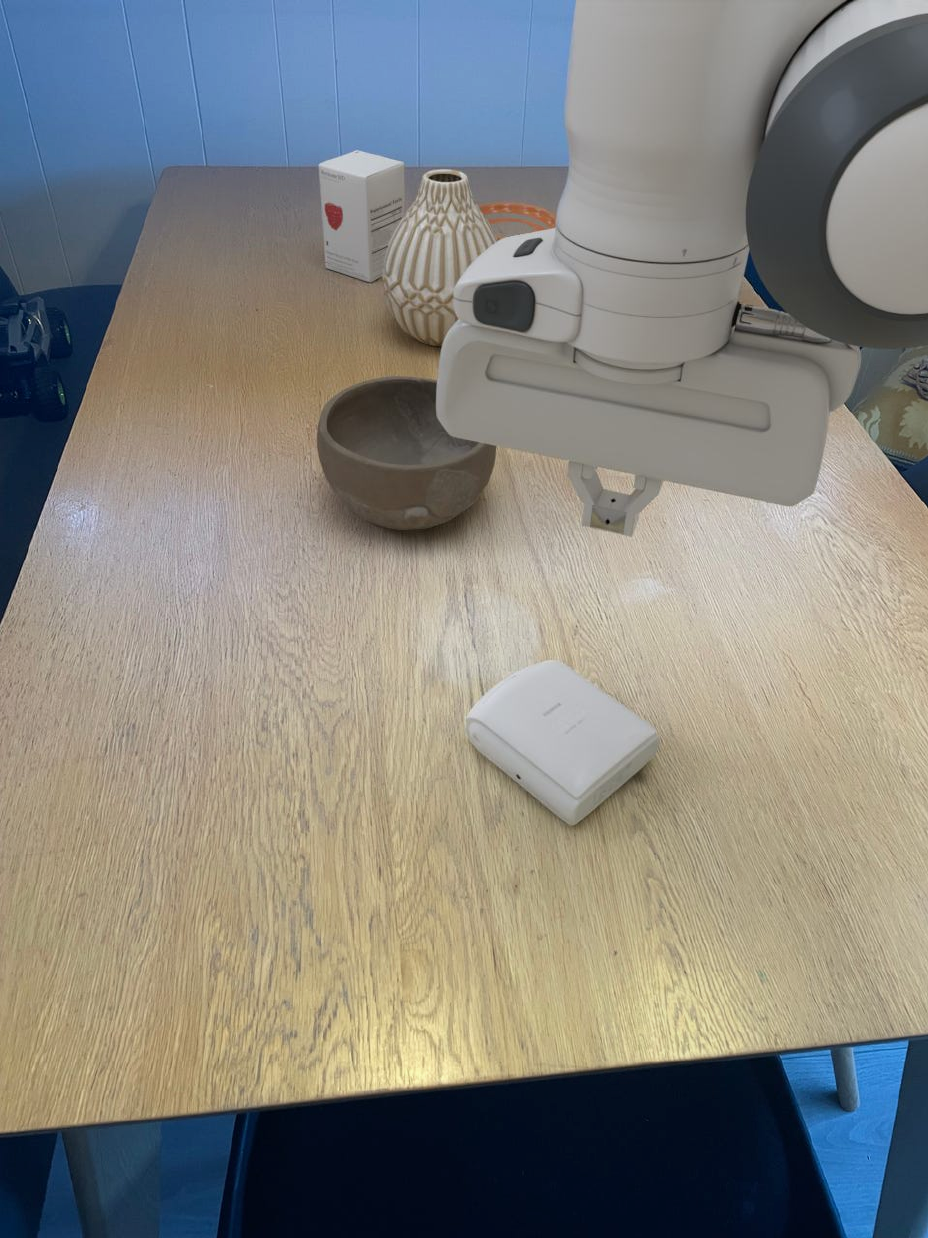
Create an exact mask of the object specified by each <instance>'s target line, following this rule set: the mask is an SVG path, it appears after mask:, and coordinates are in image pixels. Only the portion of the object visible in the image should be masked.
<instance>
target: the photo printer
mask: <svg viewBox="0 0 928 1238" xmlns="http://www.w3.org/2000/svg"><path fill="white" fill-rule="evenodd" d="M464 721H465V725H464V732H465V734H466V737H467V738H468V739H469V742H470V743H471V744H472V745H473V746H474V748H475V749H476V750H477V751H478V752H479V753H480V754H482V755H483V756H484V758H487V759H488V760H489V761H490V762H491V763H493V764H494V765H495V766H496V767H497V768H498V769H500V770H501V771H502V772H503V773H505V774H506V775H507V776H509V777H510V778H511V779H512V780H513V781H514V782H515V783H517V784H518V785H519V786H520V787H522V788H523V789H524V790H525V791H526V792H528V793H529V794H530V795H531V796H532V797H534V798H535V799H536V800H537V801H539V802H540V803H541V804H542V805H543V806H545V807H546V808H547V809H548V810H549V811H551V812H552V813H553V814H554V815H556V817H558V818H559V819H560V820H562V822H564V823H565V824H567V825H568V826H576V825H577V824H578V823H580V822H581V821H582V820H584V819H585V818H586V817H587V816H589V814H591V813H592V812H593V811H595V810H596V809H597V807H599V806H600V805H601V804H602V803H603V802H605V801H606V800H607V799H608V798H609V797H610V796H612V795H613V794H614V793H615V792H616V791H617V790H619V789H620V788H621V787H622V786H623V785H625V783H627V782H628V781H629V780H630V779H632V777H633V776H635V775H636V774H637V773H638V772H639V771H640V770H642V768H644V767H645V766H646V765H647V764H648V763H650V762H651V761H652V759H654V757H655V756H656V754H657V751H658V749H659V746H660V742H661V737H660V735H659V734H658V733H657V729H656V728H655V727H654V726H652V724H651V723H649V722H648V721H647V720H645V719H644V718H642V717H641V716H640V715H638V714H637V713H636V712H635V711H633V710H631V709H630V708H628V707H627V706H625V705H624V704H622V702H620V701H618V700H617V699H616V698H614V697H613V696H611V695H610V694H609V693H607V691H604V690H603V689H601V688H600V687H599V686H598V685H596V684H594V683H593V682H592V681H590V680H589V679H587V678H586V677H584V676H583V675H581V674H580V673H579V672H577V671H576V670H574V669H573V668H571V667H570V666H568V665H567V664H566V663H564V662H562V661H560V660H556V659H548V660H543V661H539V662H536V663H533V664H531V665H528V666H526V667H524V668H521V669H519V670H517V671H515V672H514V673H512V674H510V675H508V676H506V677H505V678H504V679H502V680H501V681H498V682H497V684H495V685H494V686H492V687H491V688H490V689H489V690H488V691H486V693H484V694H483V695H482V696H481V697H480V699H479V700H477V701H476V703H475V704H473V706H472V707H471V709H470V710H469V712H468V713H467V715H466V717H465V719H464Z"/></svg>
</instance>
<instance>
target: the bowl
mask: <svg viewBox="0 0 928 1238" xmlns="http://www.w3.org/2000/svg"><path fill="white" fill-rule="evenodd" d="M436 388H437V379H433V378H427V377H426V378H425V377H416V376H407V375H404V376H403V375H395V376H392V375H391V376H384V377H383V376H382V377H379V378H377V377H376V378H372V379H368V380H365V381H361V382H358V383H355V384H353V385H351V386H349V387H346V388H344V389H342V390H341V391H339V392H338V393H336V394H335V395H334V396H333V397H332V398H330V399H329V400H328V401H327V402H326V404H324V406H323V407H322V410H321V412H320V415H319V419H318V423H317V433H316V448H317V456H318V459H319V463H320V467H321V469H322V472H323V475H324V477H325V479H326V481H327V483H328V484H329V486H330V488H331V490H332V491H333V492H334V493H335V495H336V496H337V497H338V498H339V499H340V501H341V502H342V503H343V504H344V505H345V506H346V507H347V508H348V509H349V510H350V511H351V512H352V513H354V514H355V515H356V516H357V517H359V518H361V519H363V520H365V521H367V522H369V523H371V524H373V525H375V526H379V527H382V528H386V529H394V530H399V531H411V530H426V529H429V528H433V527H436V526H439V525H441V524H444V523H447V522H450V521H452V520H453V519H454V518H456V517H457V516H459V515H460V514H462V513H464V511H466V510H467V509H468V508H469V507H471V506H472V505H473V504H474V503H475V502H476V501H477V500H478V499H479V498H480V496H481V495H482V494H483V493H484V491H485V489H486V487H487V486H488V484H489V482H490V480H491V478H492V474H493V472H494V471H493V470H494V468H495V464H496V458H497V446H495V445H490V444H485V443H480V442H476V441H471V440H466V439H461V438H456V437H452V436H450V435H449V434H448V433H447V431H446V430H445V429H444V427H443V426H442V424H441V423H440V421H439V420H438V418H437V414H436Z"/></svg>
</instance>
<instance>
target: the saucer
mask: <svg viewBox="0 0 928 1238" xmlns="http://www.w3.org/2000/svg"><path fill="white" fill-rule="evenodd" d="M477 206H478V207H479V209H480V210H481V211H482V213H483V214H484V215H487V214H492V213H516V214H522V215H526V216H530V217H532V218H534V219H537V220H538V221H541V222H543V223H545V224H546V225H547V226H548V227H549V229H552V228H555V226H556V214H555V213H554V212H552V211H550V210H549V209H546V208H544V207H542V206H538V205H535V204H530V203H523V202H513V201H511V202H509V201H502V202H489V203H483V204H479V205H477ZM487 221H488V222H489V224H490V225H492V224H495V223H499V222H520V223H524V224H527V225H529V226H531V227H533V229H534V232H536V231H542V230H546V229H545V228H544V227H542V226H541V225H539V224H536V223H534V222H531V221H527V220H522V219H513V218H497V219H490V220H487ZM495 236H496V238H497V240H498V241H499V240H500V239H503V238H505V237H503V236H498V235H495Z"/></svg>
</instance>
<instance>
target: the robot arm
mask: <svg viewBox="0 0 928 1238" xmlns="http://www.w3.org/2000/svg"><path fill="white" fill-rule="evenodd" d="M568 52H569V53H568V61H567V62H568V63H567V73H566V84H565V95H564V106H563V122H564V123H563V124H564V129H565V134H566V135H565V136H566V139H567V147H568V159H569V160H568V171H567V177H566V181H565V185H564V189H563V191H562V194H561V197H560V200H559V202H558V204H557V208H556V214H555V215H556V226H555V228H552V229H547V230H542V231H536V232H531V233H525V234H520V235H514V236H510V237H505V238H503V239H500V240H499V241H497V242H496V243H494V244H493V245H492V246H490V247H489V248H488V249H486V250H485V251H484V252H483V253H482V254H481V255H479V256H478V257H477V258H476V259H475V260H474V261H473V262H472V263H471V264H470V266H469V267H468V268H467V269H466V270H465V272H464V273H463V274H462V276H461V277H460V279H459V280H458V282H457V284H456V285H455V288H454V292H453V305H454V311H455V314H456V316H457V317H458V320H457V321H456V322H455V324H454V325H453V326H452V327H451V328H450V330H449V331H448V332H447V334H446V336H445V338H444V341H443V344H442V346H441V349H440V355H439V361H438V366H437V367H438V369H437V376H436V377H437V378H436V380H437V388H436V414H437V418H438V420H439V421H440V423H441V424H442V426H443V427H444V429H445V430H446V431H447V433H448V434H449V435H450V436H452V437H456V438H461V439H466V440H471V441H476V442H480V443H485V444H490V445H495V446H496V447H500V448H504V449H510V450H515V451H520V452H523V453H524V452H525V453H529V454H533V455H538V456H543V457H544V456H545V457H548V458H553V459H558V460H563V461H568V464H567V465H568V466H567V477H568V479H569V481H570V483H571V484H572V486H573V488H574V490H575V492H576V494H577V496H578V498H579V500H580V501H581V503H583V509H582V510H583V511H582V512H583V513H582V518H581V519H582V520H581V526H582V527H585V528H589V529H590V528H591V529H594V530H597V531H598V530H599V531H604V532H608V533H613V534H618V535H621V536H625V537H629V538H630V537H631V538H632V537H633V535H634V533H635V530H636V528H637V525H638V523H639V522H638V521H639V518H640V513H641V512H642V511H643V510H644V509H645V508H647V506H648V505H649V504H651V502H652V501H654V500H655V498H656V497H658V495H660V492H661V489H662V487H663V484H664V482H669V483H674V484H678V485H683V486H687V487H688V486H689V487H693V488H697V489H703V490H707V491H711V492H717V493H722V494H725V495H731V496H736V497H741V498H745V499H749V500H750V499H751V500H756V501H760V502H764V503H769V504H774V505H779V506H784V507H794V506H797V505H799V504H800V503H802V502H804V501H805V500H807V499H808V498H810V497H811V496H812V495H813V494H814V493H815V491H816V488H817V484H818V481H819V476H820V472H821V467H822V462H823V458H824V453H825V448H826V443H827V437H828V430H829V424H830V415H831V413H832V412H833V411H836V410H838V409H839V408H840V407H841V406H843V405H844V404H845V403H846V402H847V401H848V400H849V398H850V397H851V395H852V393H853V391H854V387H855V384H856V381H857V379H858V375H859V372H860V369H861V365H862V353H861V349H860V348H867V349H875V350H876V349H877V350H901V349H911V348H919V347H925V346H928V0H575V5H574V13H573V20H572V27H571V35H570V43H569V51H568ZM749 253H750V256H751V260H752V263H753V265H754V268H755V270H756V272H757V274H758V277H759V278H760V281H761V282H762V284H763V286H764V287H765V289H766V291H768V293H769V294H770V296H771V297H772V298H773V299H774V301H775V302H776V303H777V305H779V307H781V308H782V309H783V311H782V310H781V311H779V310H778V309H773V308H770V307H769V308H768V307H762V306H758V305H757V306H756V305H752V304H751V305H750V304H743V303H740V301H739V299H740V295H741V292H742V291H741V290H742V286H743V281H744V277H745V272H746V267H747V263H748V258H749ZM597 468H601V469H606V470H611V471H616V472H621V473H626V474H630V475H634V476H635V477H634V484H633V488H634V490H633V491H632V493H630V494H628V493H623V492H617V491H613V490H609V489H605V488H604V486H603V483H602V482H601V480H600V477H599V475H598V473H597Z"/></svg>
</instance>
